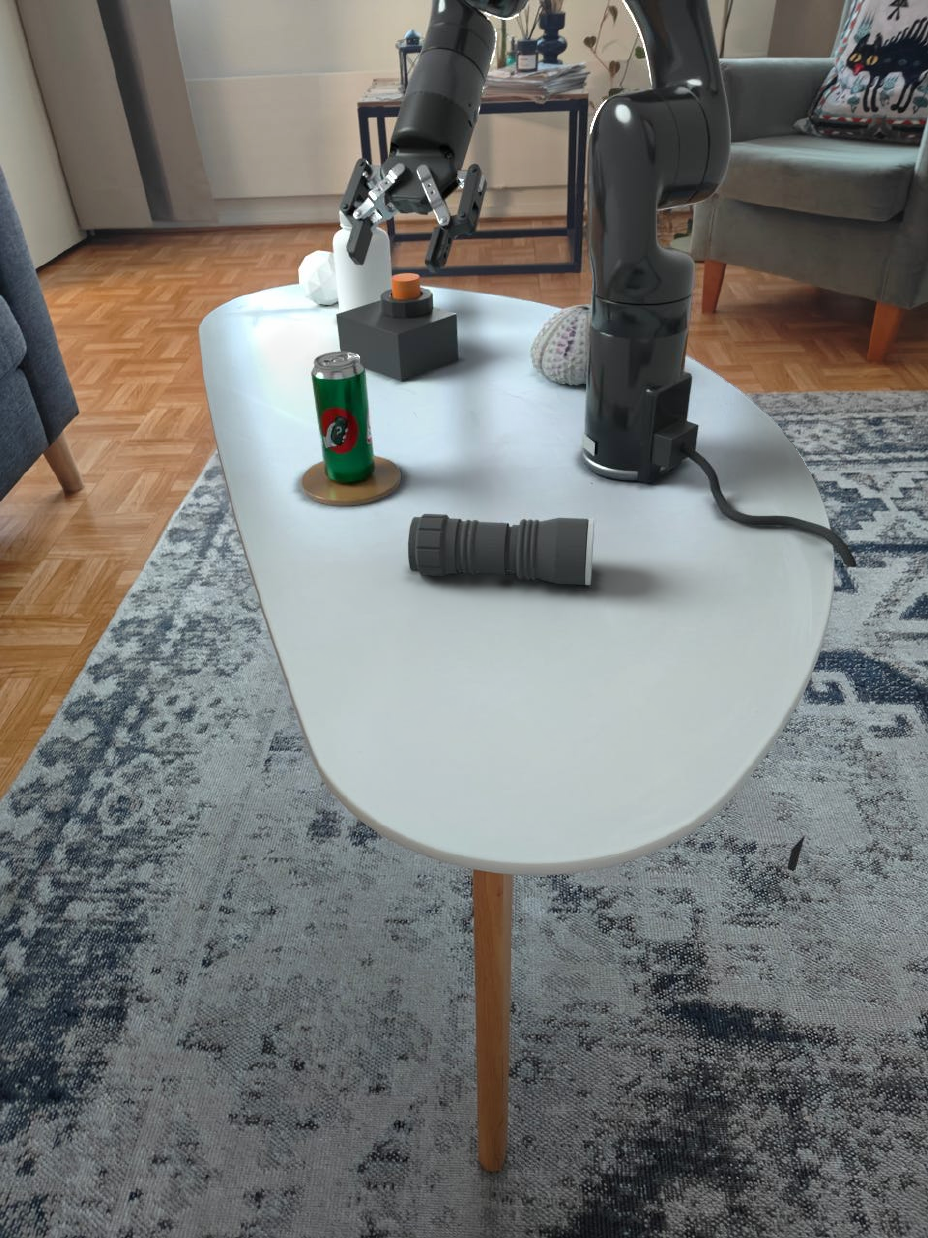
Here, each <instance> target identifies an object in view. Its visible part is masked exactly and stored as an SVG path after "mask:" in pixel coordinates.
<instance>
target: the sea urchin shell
mask: <svg viewBox="0 0 928 1238" xmlns="http://www.w3.org/2000/svg"><path fill="white" fill-rule="evenodd" d="M590 310H591V303H590V304H589V303H585V304H583V303H582V304H580V305H579V304H578V305H572V306H567V307H565V308H563V309H561V310H559V311H558V312H556V313H554V314H553V316H552V317H549V318H548V320H547V322H546V323H543V326H542V328H541V329H539V332H538V334H537V335H536V337H534V338H533V342H532V343H531V347H530V350H529V351H530V355H529V356H530V358H531V363H532V367H533V368H534V369H535V371H536V373H540V375H541V376H542V377H543V378H547V379H549V380H550V381H551V382H554V383H558V384H559V385H560V384H562V385H566V384H568V385H569V386H573V385H574V386H579V385H586V386H587V367H588V347H589V328H590Z"/></svg>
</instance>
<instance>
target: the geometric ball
mask: <svg viewBox="0 0 928 1238" xmlns="http://www.w3.org/2000/svg"><path fill="white" fill-rule="evenodd" d="M298 284H299V286H300V288H301V290H302V292H303V295H304V297H305V298H307V299H309V301H312V302H313V303H315V304H317V305H325V306H332V305H334V304H336V303H337V302H338V303H339V301H338V291H337V281H336V271H335V261H334V252H333V251H325V250H318V249H317V250H316V251H313V252H312V253H309V254H308V255H306V256H305V257H304V259H303V261H302V262H301V264H300V265H299V267H298Z"/></svg>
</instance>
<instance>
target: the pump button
mask: <svg viewBox="0 0 928 1238" xmlns="http://www.w3.org/2000/svg"><path fill="white" fill-rule="evenodd" d="M391 283H392V296H393V298H395V299H404V300H406V299H415V298H418V297H421V292H420V287H421V277H420V275H419V274H417V273H411V272H403V273H396V274H394V275H392V277H391Z"/></svg>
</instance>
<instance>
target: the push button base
mask: <svg viewBox="0 0 928 1238" xmlns="http://www.w3.org/2000/svg"><path fill="white" fill-rule="evenodd" d="M420 292H421V297H418V298H415V299H406V300H404V299H395V298H393V296H392V289H391V290H387V291H385V292H384V293H382V294H381V296H380V297H381V300H379V301H376V302H373V303H370V304H367V305H364V306H361V307H357V308H354V309H351V310H348V311H345V312H342V313H340V312H339V313H336V314H335V316H336V325H337V333H338V334H337V335H338V342H339V350H340V351H339V352H351V353H355V354H357V355H358V356H359V357H360V362H361V363H362V364H363V366H364V367H365V370H369V371H371V372H373V373H376V374H379V375H381V376H384V377H386V378H390V379H393V380H395V381H398V382H401V383H402V382H405V381H407V380H411V379H413V378H415V377H418V376H421V375H423V374H425V373H428V372H430V371H433V370H435V369H439V368H442V367H444V366H445V365H448V364H451V363H453V362H457V361H458V360H459V339H458V337H459V336H458V314H457V313H455V312H451V311H448V310H445V309H442V308H438V307H434V294H433V292H432V290H431V289H428V288H425V287H421V286H420Z"/></svg>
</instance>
